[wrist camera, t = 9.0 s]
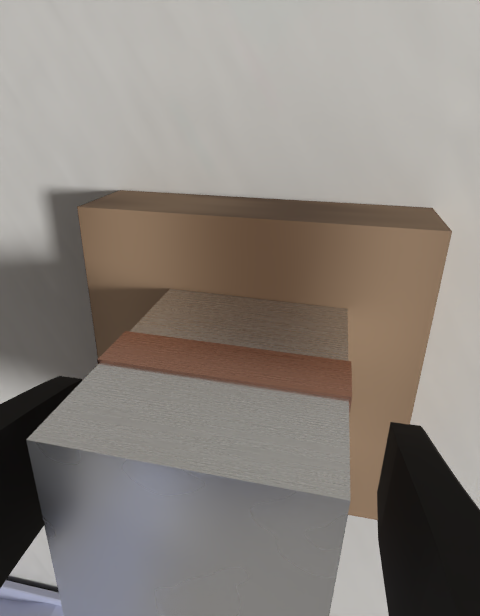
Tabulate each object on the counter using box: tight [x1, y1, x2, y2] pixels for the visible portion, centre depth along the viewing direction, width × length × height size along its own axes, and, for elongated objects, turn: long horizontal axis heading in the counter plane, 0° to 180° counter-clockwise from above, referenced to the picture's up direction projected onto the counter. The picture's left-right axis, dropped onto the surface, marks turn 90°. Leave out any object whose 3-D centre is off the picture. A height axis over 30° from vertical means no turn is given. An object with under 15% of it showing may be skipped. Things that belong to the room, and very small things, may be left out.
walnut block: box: [77, 190, 452, 520], centre depth 14 cm, size 9×9×3 cm
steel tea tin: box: [26, 289, 352, 616], centre depth 10 cm, size 5×5×6 cm
